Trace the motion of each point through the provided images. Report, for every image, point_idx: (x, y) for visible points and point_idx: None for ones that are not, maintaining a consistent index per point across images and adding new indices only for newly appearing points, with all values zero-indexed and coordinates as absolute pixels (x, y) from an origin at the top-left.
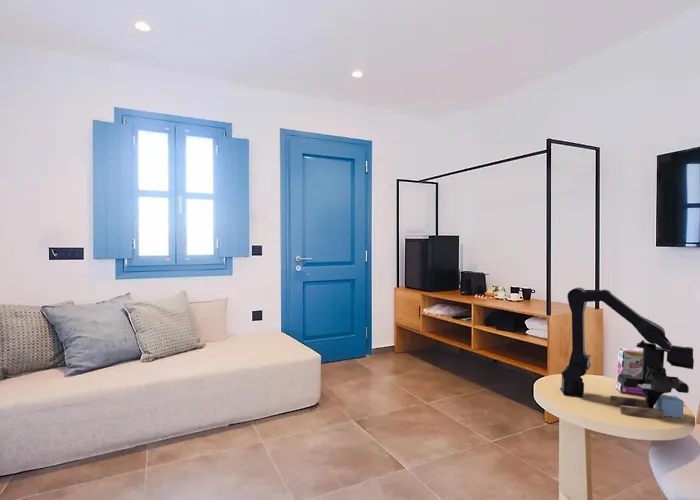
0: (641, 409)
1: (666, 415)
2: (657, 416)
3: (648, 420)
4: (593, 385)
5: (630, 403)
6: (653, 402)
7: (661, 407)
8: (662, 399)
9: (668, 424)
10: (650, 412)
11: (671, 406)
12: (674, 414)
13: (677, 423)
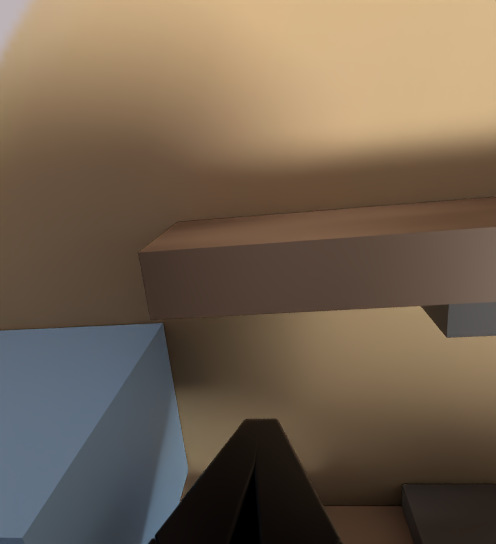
0: None
1: (106, 328)
2: (246, 223)
3: (434, 52)
4: None
5: (480, 524)
6: (230, 488)
7: (126, 405)
8: (27, 534)
9: (167, 3)
10: (358, 224)
11: None
12: (1, 347)
13: (30, 114)
